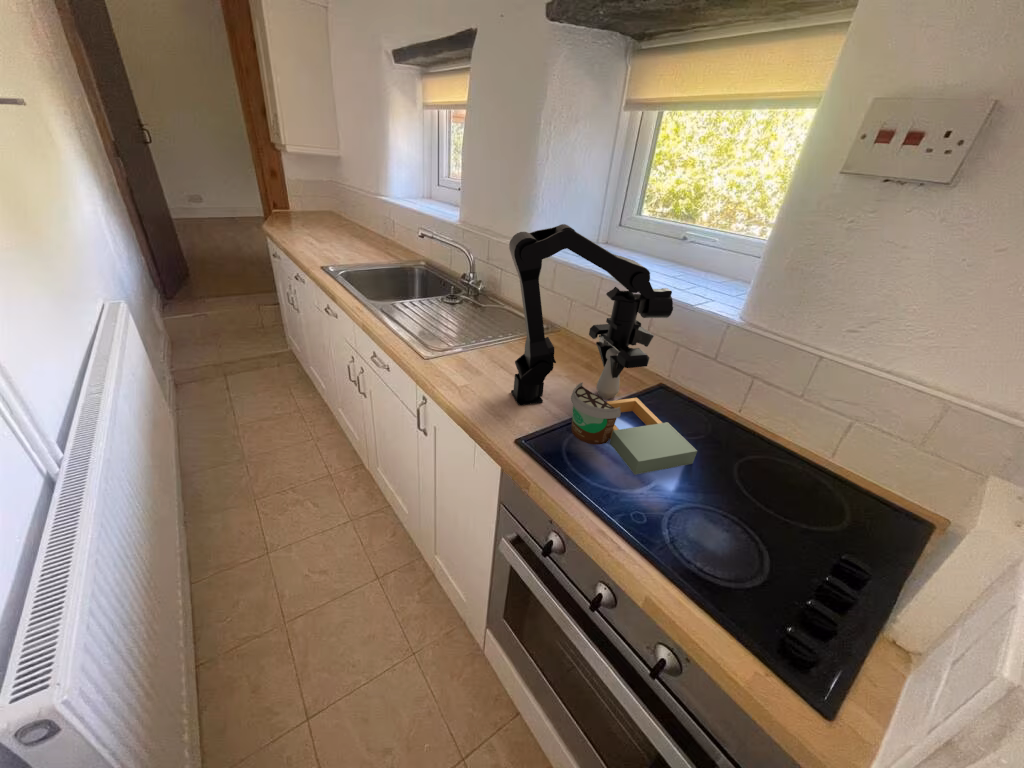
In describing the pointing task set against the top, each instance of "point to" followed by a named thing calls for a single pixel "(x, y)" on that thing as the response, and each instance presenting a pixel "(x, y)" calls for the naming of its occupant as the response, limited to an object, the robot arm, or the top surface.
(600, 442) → the food container
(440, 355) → the top surface
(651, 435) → the orange and green frame
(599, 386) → the salt shaker
